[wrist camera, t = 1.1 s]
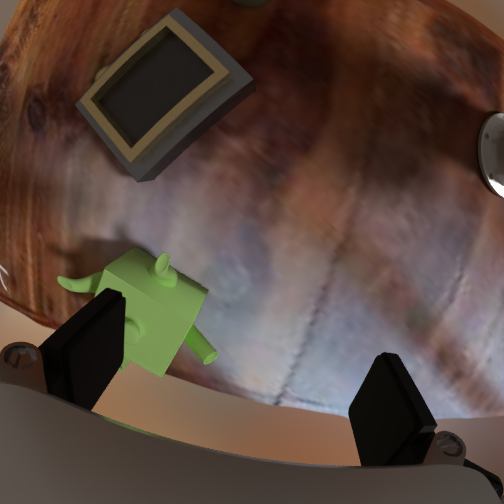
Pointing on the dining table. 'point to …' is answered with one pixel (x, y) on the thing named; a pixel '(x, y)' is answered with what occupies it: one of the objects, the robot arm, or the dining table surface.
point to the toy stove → (163, 94)
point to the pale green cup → (250, 3)
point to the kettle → (152, 308)
